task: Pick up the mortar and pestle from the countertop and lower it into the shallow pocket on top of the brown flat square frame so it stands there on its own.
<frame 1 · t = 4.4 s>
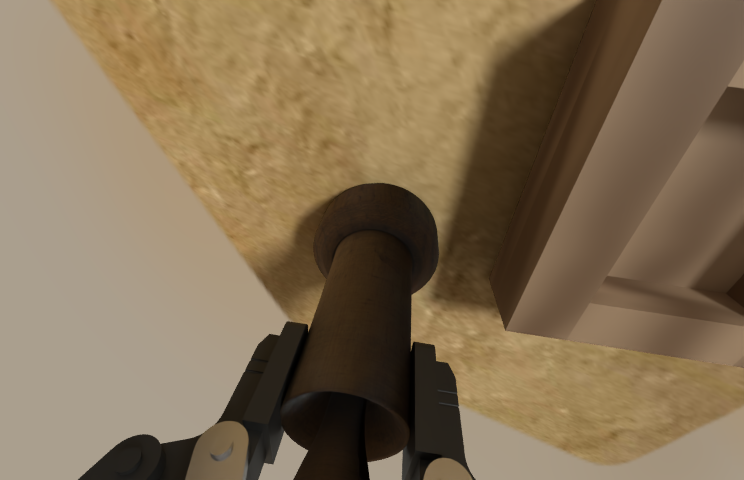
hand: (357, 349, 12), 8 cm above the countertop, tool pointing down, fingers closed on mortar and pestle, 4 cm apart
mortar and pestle: (378, 232, 19), on the countertop, touching gripper
brown flat square frame: (672, 185, 16), on the countertop
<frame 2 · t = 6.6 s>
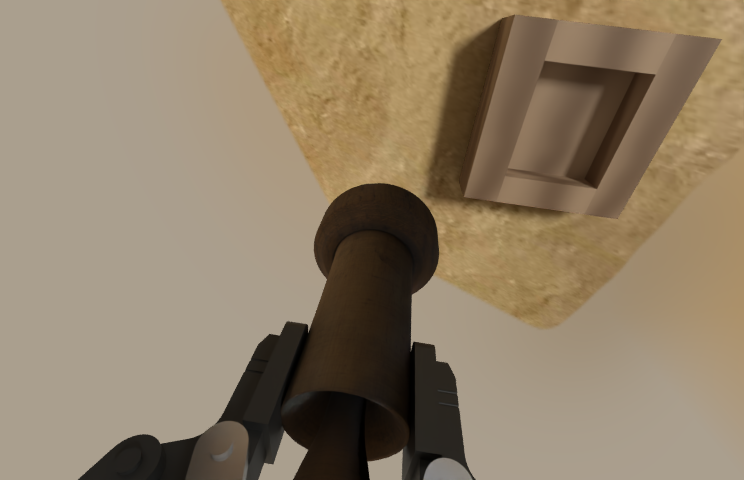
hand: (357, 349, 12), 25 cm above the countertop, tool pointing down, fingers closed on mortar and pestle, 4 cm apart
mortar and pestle: (379, 232, 19), point 16 cm above the countertop, touching gripper
brown flat square frame: (552, 119, 30), on the countertop
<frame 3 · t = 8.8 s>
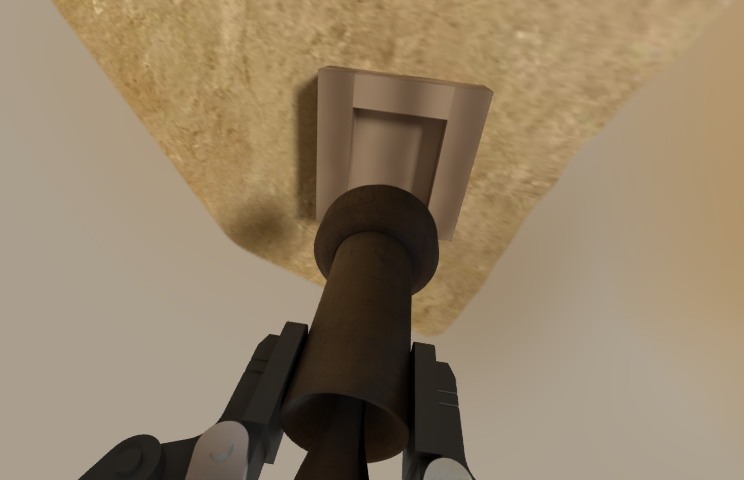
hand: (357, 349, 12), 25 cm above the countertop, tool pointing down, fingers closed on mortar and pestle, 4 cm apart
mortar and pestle: (379, 233, 19), point 16 cm above the countertop, touching gripper
brown flat square frame: (395, 150, 33), on the countertop
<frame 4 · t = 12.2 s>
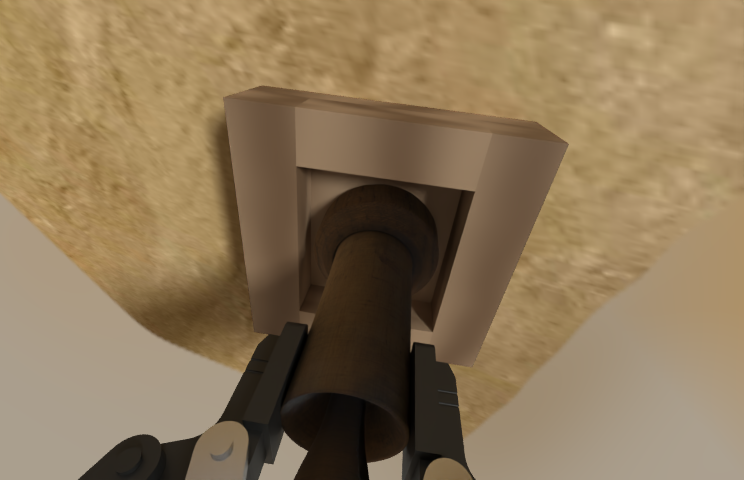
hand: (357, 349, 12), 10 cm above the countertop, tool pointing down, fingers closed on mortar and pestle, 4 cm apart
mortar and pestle: (379, 233, 19), point 1 cm above the countertop, touching gripper, brown flat square frame
brown flat square frame: (381, 219, 20), on the countertop, touching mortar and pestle
when the fingers open (10 cm above the countertop, at t = 13.4 s): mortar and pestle stays where it is, resting on brown flat square frame.
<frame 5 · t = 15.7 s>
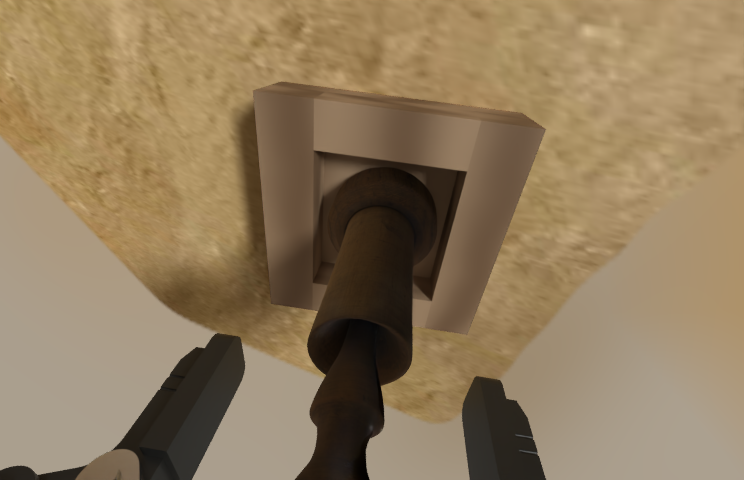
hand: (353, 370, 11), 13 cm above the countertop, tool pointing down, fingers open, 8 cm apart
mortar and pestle: (384, 212, 21), point 1 cm above the countertop, touching brown flat square frame
brown flat square frame: (385, 202, 23), on the countertop, touching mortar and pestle
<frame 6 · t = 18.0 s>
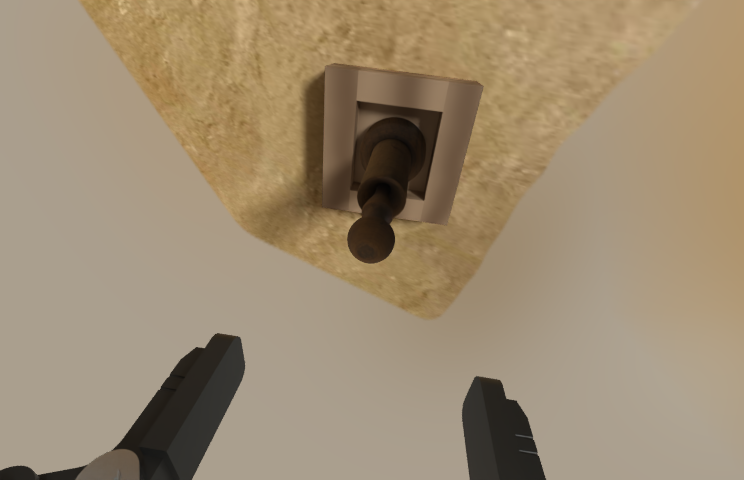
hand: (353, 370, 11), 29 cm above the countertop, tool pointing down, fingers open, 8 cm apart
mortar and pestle: (394, 147, 34), point 1 cm above the countertop, touching brown flat square frame
brown flat square frame: (395, 142, 36), on the countertop, touching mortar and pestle
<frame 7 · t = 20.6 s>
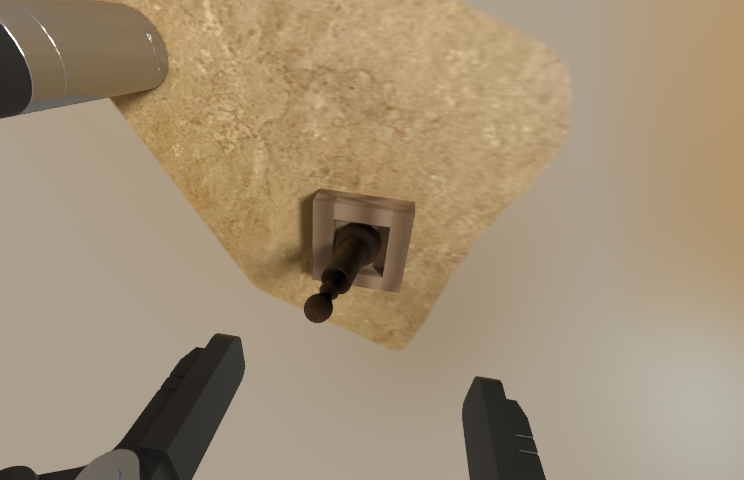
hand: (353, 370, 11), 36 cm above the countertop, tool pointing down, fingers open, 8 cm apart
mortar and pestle: (360, 240, 49), point 2 cm above the countertop, touching brown flat square frame
brown flat square frame: (363, 234, 51), on the countertop, touching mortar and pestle
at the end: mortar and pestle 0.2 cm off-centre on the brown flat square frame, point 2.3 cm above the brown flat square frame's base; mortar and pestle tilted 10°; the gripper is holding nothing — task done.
